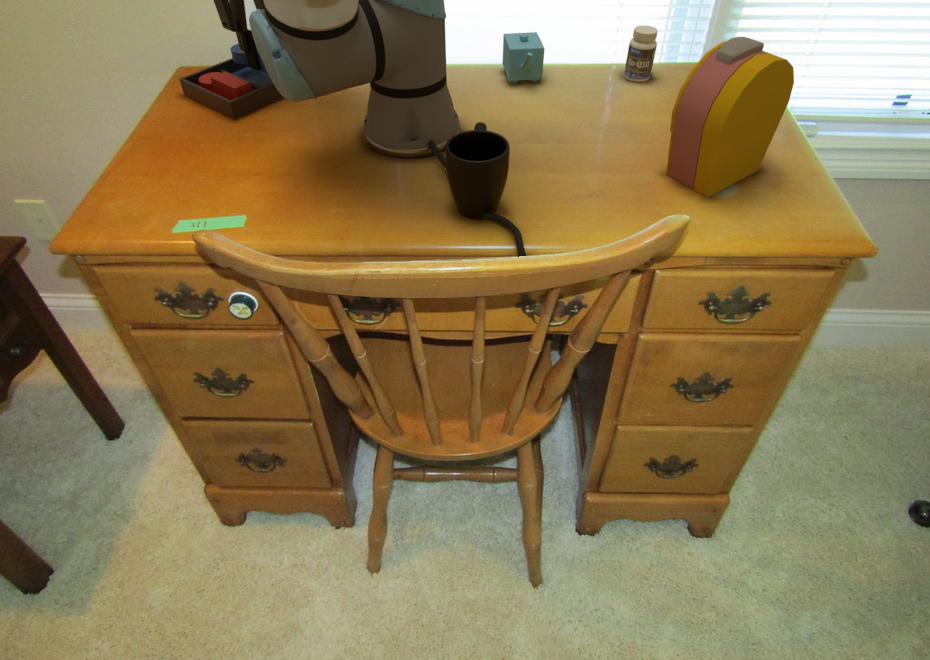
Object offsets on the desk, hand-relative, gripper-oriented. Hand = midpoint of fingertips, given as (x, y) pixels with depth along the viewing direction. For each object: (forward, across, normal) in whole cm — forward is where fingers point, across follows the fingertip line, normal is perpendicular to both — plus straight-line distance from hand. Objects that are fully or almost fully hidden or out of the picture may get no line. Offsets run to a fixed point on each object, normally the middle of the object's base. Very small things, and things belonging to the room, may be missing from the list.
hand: (263, 64), depth 112 cm
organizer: (+4, +4, -1) cm, 6 cm away
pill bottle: (+4, -44, +51) cm, 67 cm away
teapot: (+4, -31, +35) cm, 46 cm away
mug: (+4, +5, +53) cm, 53 cm away
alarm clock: (+4, -22, +75) cm, 78 cm away
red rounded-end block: (+3, +8, -2) cm, 8 cm away
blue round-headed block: (0, 0, -2) cm, 2 cm away
